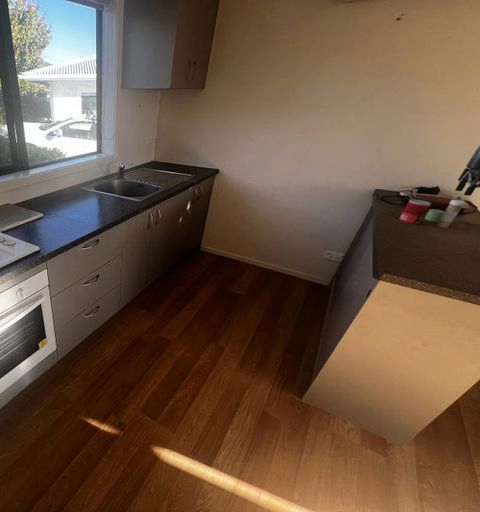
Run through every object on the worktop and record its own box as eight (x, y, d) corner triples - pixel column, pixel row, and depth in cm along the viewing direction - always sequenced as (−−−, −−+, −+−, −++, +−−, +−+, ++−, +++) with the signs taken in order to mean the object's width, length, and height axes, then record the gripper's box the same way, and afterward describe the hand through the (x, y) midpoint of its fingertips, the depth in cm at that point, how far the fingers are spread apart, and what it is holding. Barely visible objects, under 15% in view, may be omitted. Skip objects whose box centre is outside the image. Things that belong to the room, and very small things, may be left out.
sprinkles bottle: (439, 224, 149) (455, 199, 142) (450, 227, 145) (468, 202, 138) (433, 224, 148) (449, 199, 141) (444, 228, 144) (461, 202, 137)
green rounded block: (430, 217, 157) (435, 208, 155) (443, 221, 152) (449, 212, 150) (421, 218, 156) (426, 209, 154) (434, 222, 151) (440, 213, 149)
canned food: (417, 226, 147) (430, 205, 141) (396, 221, 152) (408, 201, 147) (419, 222, 151) (432, 202, 146) (399, 217, 156) (410, 198, 151)
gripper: (506, 161, 123) (481, 198, 131) (487, 156, 134) (466, 190, 142) (480, 159, 126) (458, 195, 134) (465, 154, 137) (445, 188, 145)
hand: (462, 193), depth 138 cm, fingers open, 8 cm apart
